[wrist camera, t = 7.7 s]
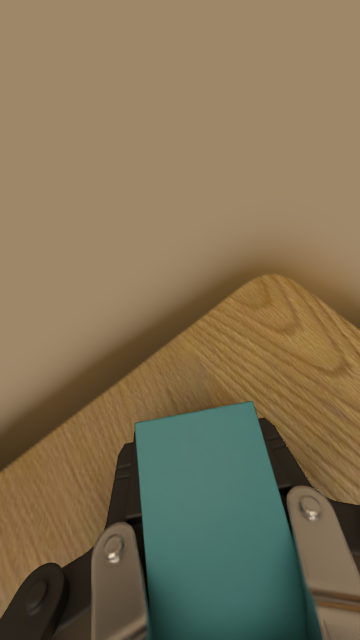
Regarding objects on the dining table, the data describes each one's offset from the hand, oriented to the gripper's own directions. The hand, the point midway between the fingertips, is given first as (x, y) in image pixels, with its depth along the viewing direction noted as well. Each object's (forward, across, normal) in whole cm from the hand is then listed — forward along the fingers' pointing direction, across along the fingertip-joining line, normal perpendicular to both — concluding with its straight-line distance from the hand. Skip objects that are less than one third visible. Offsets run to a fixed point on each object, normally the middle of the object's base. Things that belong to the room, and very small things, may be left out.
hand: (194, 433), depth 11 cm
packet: (+2, 0, +4) cm, 4 cm away
